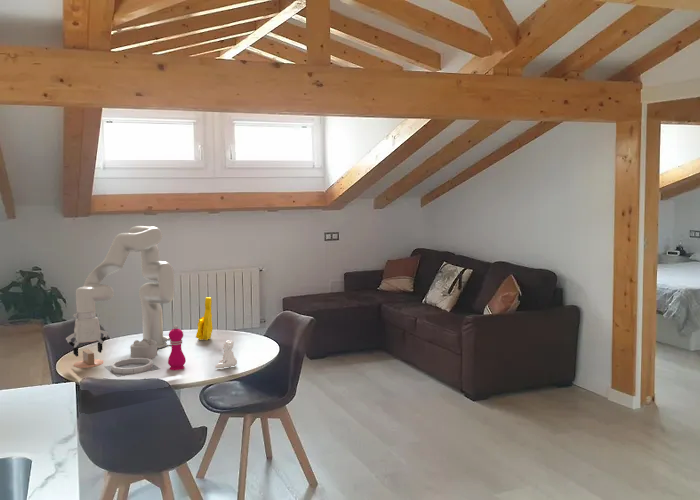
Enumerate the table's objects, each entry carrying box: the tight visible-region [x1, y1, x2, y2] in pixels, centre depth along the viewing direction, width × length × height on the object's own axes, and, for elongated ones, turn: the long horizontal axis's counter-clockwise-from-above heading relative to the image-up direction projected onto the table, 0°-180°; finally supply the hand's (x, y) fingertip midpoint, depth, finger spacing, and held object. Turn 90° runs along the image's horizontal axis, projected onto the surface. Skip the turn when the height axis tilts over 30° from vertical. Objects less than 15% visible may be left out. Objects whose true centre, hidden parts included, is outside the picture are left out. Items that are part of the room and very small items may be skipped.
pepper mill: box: [167, 324, 187, 371], centre depth 265 cm, size 7×7×20 cm
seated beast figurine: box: [215, 339, 238, 369], centre depth 272 cm, size 10×9×12 cm
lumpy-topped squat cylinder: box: [130, 338, 158, 360], centre depth 285 cm, size 10×13×9 cm
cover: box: [73, 349, 104, 369], centre depth 272 cm, size 12×12×7 cm
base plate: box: [104, 357, 161, 378], centre depth 266 cm, size 18×18×4 cm
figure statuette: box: [195, 296, 214, 341], centre depth 319 cm, size 18×8×22 cm, turn 176°
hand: (88, 353), depth 272 cm, fingers open, 9 cm apart
